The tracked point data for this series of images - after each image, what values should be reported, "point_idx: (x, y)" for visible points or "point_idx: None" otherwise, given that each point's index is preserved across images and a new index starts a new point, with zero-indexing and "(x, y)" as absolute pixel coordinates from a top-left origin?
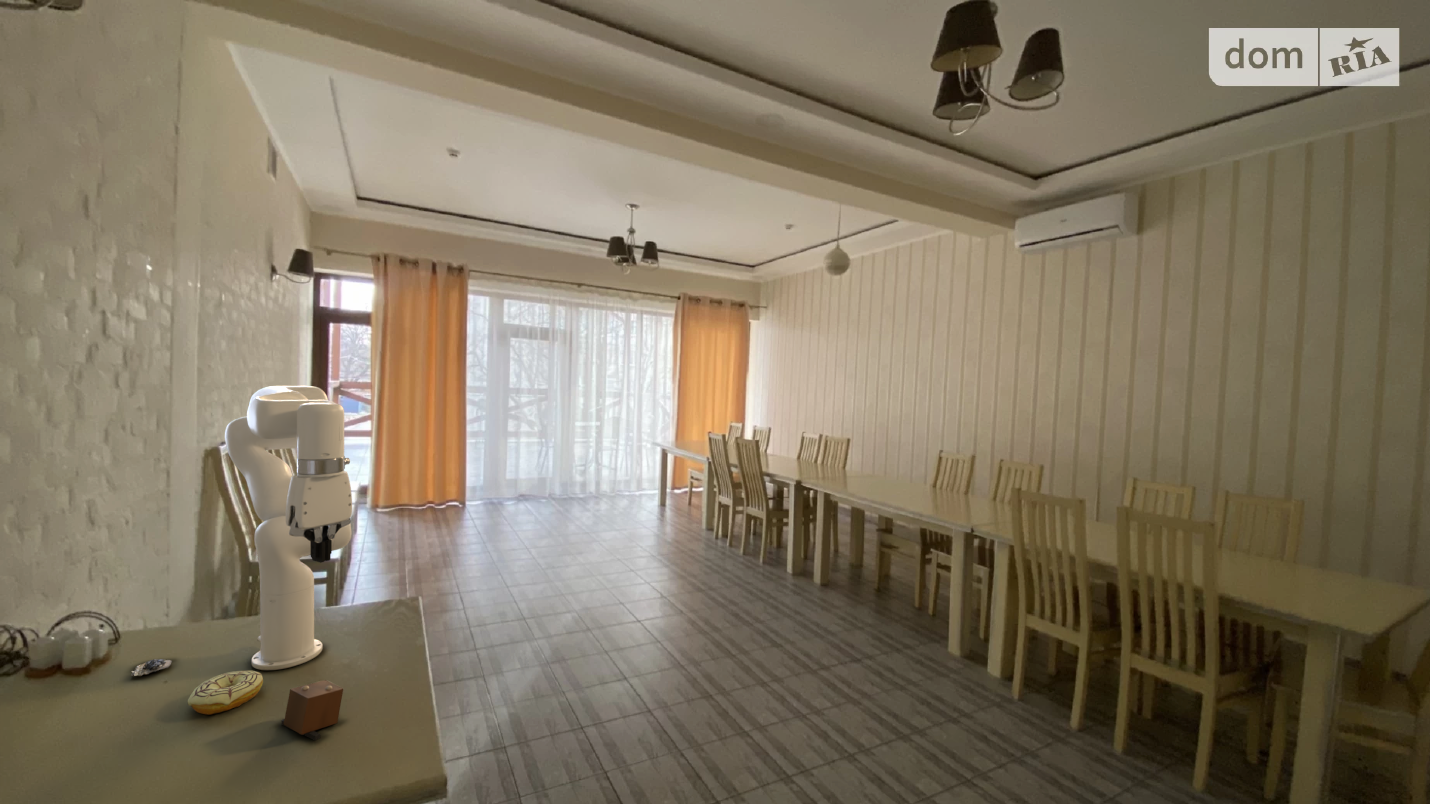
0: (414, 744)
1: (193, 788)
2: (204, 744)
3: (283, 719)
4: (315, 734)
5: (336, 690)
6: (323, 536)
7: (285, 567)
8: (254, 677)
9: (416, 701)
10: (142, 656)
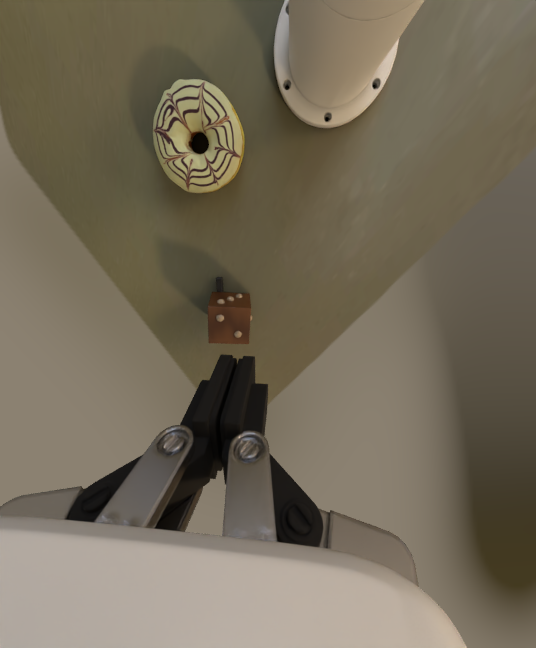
0: None
1: (136, 304)
2: (157, 240)
3: (218, 279)
4: None
5: (240, 343)
6: (226, 473)
7: None
8: (225, 165)
9: (308, 358)
10: None
